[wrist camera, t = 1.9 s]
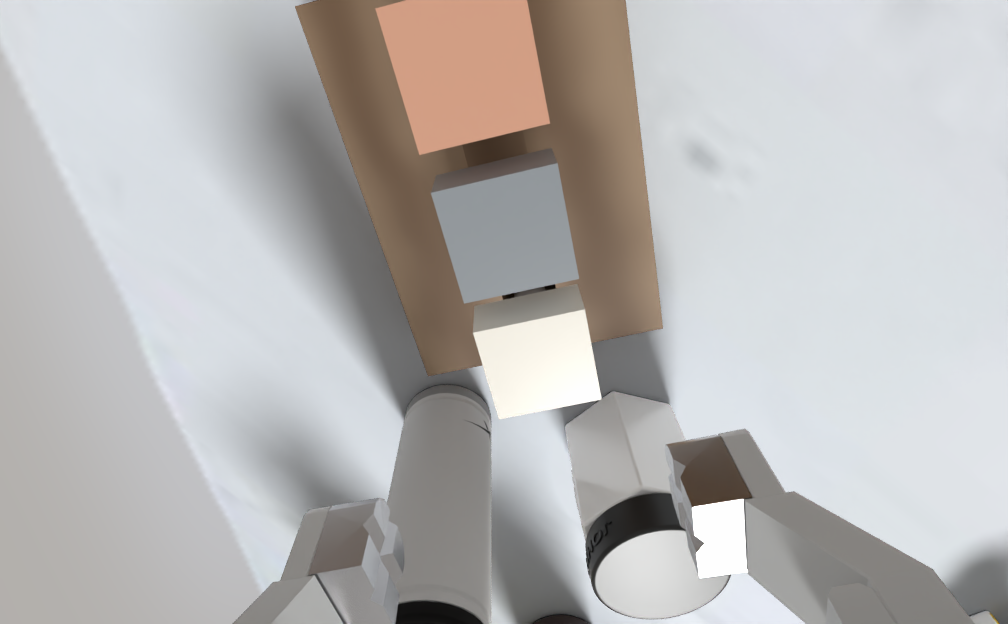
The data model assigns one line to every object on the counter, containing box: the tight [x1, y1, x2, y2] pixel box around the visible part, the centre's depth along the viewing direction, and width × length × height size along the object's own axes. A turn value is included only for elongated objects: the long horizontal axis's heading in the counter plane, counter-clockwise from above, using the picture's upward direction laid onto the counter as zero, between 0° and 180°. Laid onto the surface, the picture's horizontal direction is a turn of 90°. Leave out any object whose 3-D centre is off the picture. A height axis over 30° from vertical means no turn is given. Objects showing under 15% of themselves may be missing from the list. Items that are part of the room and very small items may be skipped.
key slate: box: [431, 148, 579, 304], centre depth 27 cm, size 5×5×8 cm
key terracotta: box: [375, 0, 550, 155], centre depth 24 cm, size 5×5×8 cm
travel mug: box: [387, 385, 491, 624], centre depth 33 cm, size 6×7×20 cm
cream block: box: [473, 284, 602, 419], centre depth 30 cm, size 5×5×8 cm
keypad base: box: [295, 0, 663, 376], centre depth 31 cm, size 14×20×5 cm
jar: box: [565, 391, 731, 619], centre depth 38 cm, size 9×8×12 cm
